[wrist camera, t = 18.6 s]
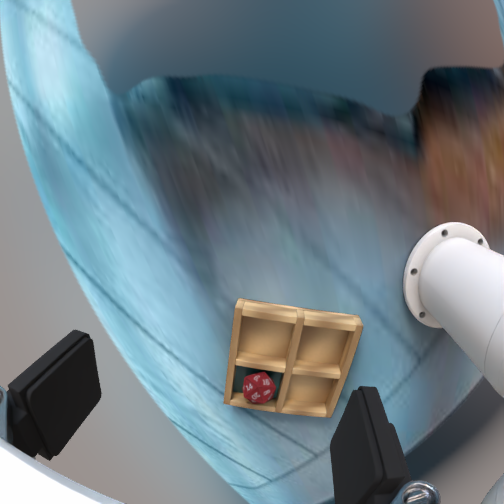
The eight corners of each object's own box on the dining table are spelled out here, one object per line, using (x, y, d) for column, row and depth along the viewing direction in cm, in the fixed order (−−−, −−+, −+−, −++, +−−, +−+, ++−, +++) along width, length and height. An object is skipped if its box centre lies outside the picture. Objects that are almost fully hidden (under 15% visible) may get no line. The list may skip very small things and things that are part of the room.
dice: (257, 358, 35) (254, 378, 31) (284, 380, 35) (283, 401, 31) (236, 375, 35) (230, 395, 32) (262, 395, 36) (259, 416, 32)
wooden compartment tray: (358, 315, 33) (363, 325, 30) (329, 404, 36) (331, 417, 34) (238, 297, 34) (234, 307, 31) (226, 391, 37) (223, 403, 35)
